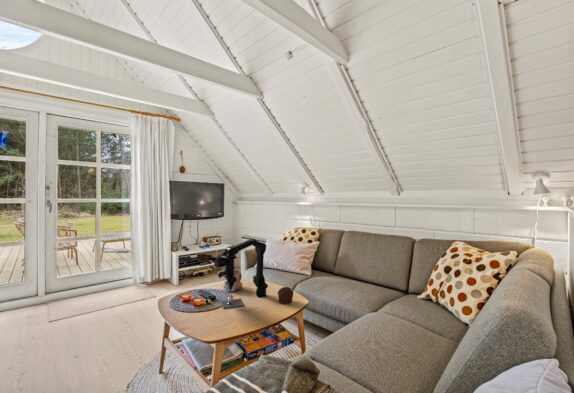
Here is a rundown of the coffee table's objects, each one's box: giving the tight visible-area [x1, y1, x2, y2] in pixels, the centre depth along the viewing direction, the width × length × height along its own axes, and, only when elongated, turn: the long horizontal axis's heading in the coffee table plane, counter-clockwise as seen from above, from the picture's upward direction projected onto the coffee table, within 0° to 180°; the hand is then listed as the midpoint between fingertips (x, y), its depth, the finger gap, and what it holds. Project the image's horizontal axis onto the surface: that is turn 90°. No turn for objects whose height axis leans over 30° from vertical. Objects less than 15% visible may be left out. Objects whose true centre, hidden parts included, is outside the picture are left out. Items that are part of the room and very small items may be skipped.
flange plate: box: [220, 296, 245, 310], centre depth 197 cm, size 14×12×5 cm
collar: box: [224, 280, 235, 293], centre depth 196 cm, size 6×6×5 cm
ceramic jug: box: [223, 268, 243, 292], centre depth 227 cm, size 18×14×14 cm
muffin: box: [277, 286, 294, 305], centre depth 201 cm, size 12×11×10 cm
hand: (229, 288), depth 196 cm, fingers closed on collar, 6 cm apart
